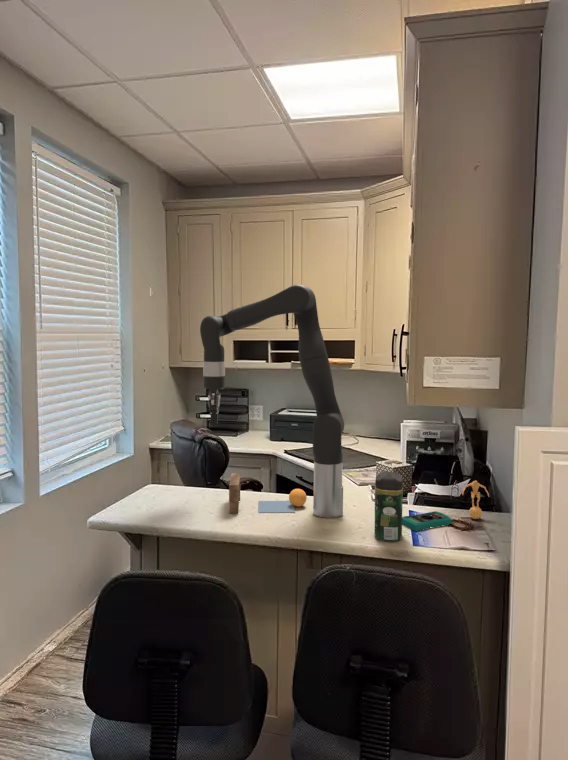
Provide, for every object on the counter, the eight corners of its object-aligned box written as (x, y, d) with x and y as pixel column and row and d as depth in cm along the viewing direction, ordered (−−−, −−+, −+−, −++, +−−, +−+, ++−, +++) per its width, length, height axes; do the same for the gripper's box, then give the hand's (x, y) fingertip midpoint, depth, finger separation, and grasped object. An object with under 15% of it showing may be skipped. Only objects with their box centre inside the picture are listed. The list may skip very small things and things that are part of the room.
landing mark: (292, 501, 181) (292, 500, 181) (295, 512, 169) (295, 512, 169) (258, 501, 181) (258, 500, 181) (258, 512, 169) (258, 512, 169)
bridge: (240, 500, 182) (240, 473, 181) (238, 514, 167) (238, 485, 166) (231, 500, 182) (231, 473, 181) (229, 514, 167) (229, 485, 166)
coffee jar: (374, 529, 155) (376, 468, 154) (401, 531, 154) (403, 470, 152) (373, 541, 146) (374, 476, 144) (401, 544, 144) (403, 478, 143)
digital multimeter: (453, 525, 160) (453, 516, 160) (415, 533, 154) (415, 523, 154) (436, 518, 167) (437, 509, 167) (399, 525, 160) (399, 515, 160)
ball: (308, 499, 179) (301, 483, 178) (310, 504, 173) (303, 488, 173) (292, 506, 179) (285, 490, 178) (293, 512, 173) (286, 496, 172)
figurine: (462, 520, 164) (464, 482, 163) (460, 513, 170) (461, 477, 169) (490, 521, 162) (491, 484, 161) (486, 515, 168) (488, 479, 167)
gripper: (223, 376, 171) (223, 427, 173) (226, 373, 184) (226, 421, 186) (201, 376, 171) (201, 427, 172) (205, 373, 184) (205, 421, 185)
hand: (214, 424), depth 179 cm, fingers closed
